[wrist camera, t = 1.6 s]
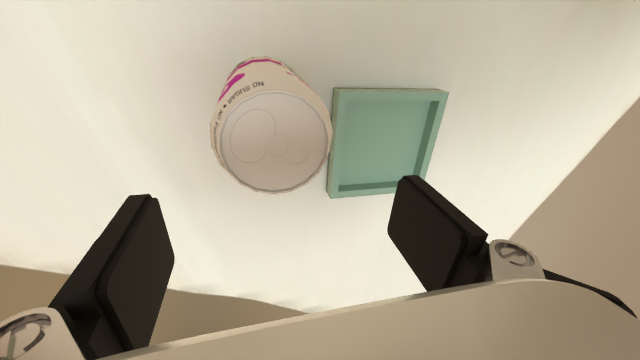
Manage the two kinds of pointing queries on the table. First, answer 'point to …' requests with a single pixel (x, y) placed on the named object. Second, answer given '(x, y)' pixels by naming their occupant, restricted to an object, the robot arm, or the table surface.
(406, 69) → the table surface
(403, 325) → the robot arm
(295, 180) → the supplement can
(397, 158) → the tray
